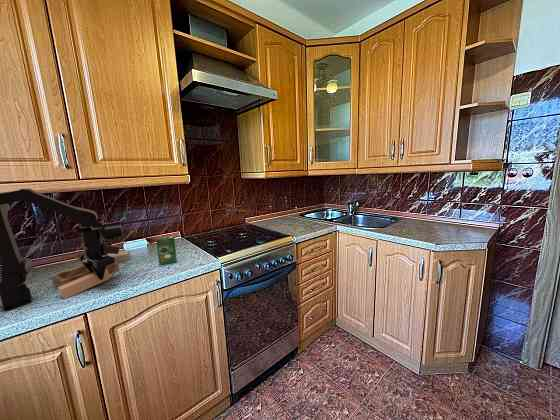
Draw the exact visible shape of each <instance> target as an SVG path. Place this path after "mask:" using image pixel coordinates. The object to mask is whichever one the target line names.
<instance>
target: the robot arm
mask: <svg viewBox="0 0 560 420" xmlns="http://www.w3.org/2000/svg"><path fill="white" fill-rule="evenodd" d="M22 201H23V202H24V201H25V202H28V203H31V204H34V205H37V206H38V207H41V208H44V209H47V210H50V211H52V212H55V213H56V214H57V213H58V214H61V215H63V216H65V217H67V218H68V219H69V220H71V221H73V222H75V223H77V225H78V226H77V228H76V229H75V230H74V231H73V234H80V236H81V240H82V244H83V245H81V249H83V250H84V252H82V253H81V252H80V253H78V255H77V256H76V259H77V262H80V263H81V262H82V263H81V264H82V266H85V267H86V268H87V269H88V270H89V271H90V272H91V273H93V272H94V273H95V274H96V275H97V277H98V278H99V279H100V280H102V279H103V278H104V273H105V268H106V266H108V265H111V264H114V263H115V258H114V257H111V256H108V254H118V253H119V252H120V248H121V247H120V246H119V245H113V244H112V242H109V241H108V242H102V238H103V239H106V240H112V239H113V240H114V239H119V238H124V234H123V227H122V224H121V221H120V220H117V221H113V222H112V221H111V222H105V221H103V220H102V219H100V218H99V215H98V213H97V212H95V211H94V210H92V209H88V208H83V207H79V206H74V205H70V204H69V203H65V202H63V201H61V200H58V199H55V198H53V197H50V196H48V195H45V194H43V193H40V192H38V191H35V190H34V189H33V188H28V187H27V188H21V189H20V188H19V190H13V191H8V192H7V191H6V192H0V259H1V268H0V278H1V282H0V308H1V309H2V310H3V311H4V312H8V311H10V310H13V309H15V308H18V307H20V306H24V305H27V304H29V303H32V302H33V300H32V293H31V289H30V287H28V286H27V284H26V281H27V279H28V278H30V276H31V275H32V273H33V270H34V269H35V267H34V266H33V264H32V260H31V258H30V257H29V258H26V259H25V258H24V257H23V256H22V255H21V253H20V249H19V247H18V244H17V242H16V238H15V235H14V233H13V230H12V228H11V224H10V221H9V219H8V215H9V214H8V213H9V204H12V203H17V202H22ZM100 231H101V232H100ZM107 253H108V254H107ZM106 255H107V256H106ZM103 256H104V257H103ZM83 261H84V262H83Z"/></svg>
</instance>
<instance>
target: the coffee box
mask: <svg viewBox="0 0 560 420" xmlns="http://www.w3.org/2000/svg"><path fill="white" fill-rule="evenodd" d="M155 240H156V249H157V256H158V265H159V266H160V265H161V266H162V265H167V264H175V263H177V261H178V260H177V259H178V258H177V249H176V240H175V236H174V235H173V236H166V237H164V236H163V237H156V239H155Z"/></svg>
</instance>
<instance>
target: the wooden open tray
mask: <svg viewBox="0 0 560 420" xmlns="http://www.w3.org/2000/svg"><path fill="white" fill-rule="evenodd" d="M105 269H107V270H108V272H109V275H112V274H114V273H116V272H119V271H120V265H119V263H118V262H115V263H114V264H111V265H108V266H106V268H105ZM89 274H91V272H90V271H89V270H88V269H87V268H86V267H85V266H84V265H81V266H77V267H74V268H71V269H67V270H65V271H62V272H57V273H53V274H51V275H50V278H51V281H52V285H54V286H55V287H57V288H58V287H60V286H62V285H64V284H67V283H69V282H72V281H74V280H76V279H79V278H81V277H84V276H86V275H89Z"/></svg>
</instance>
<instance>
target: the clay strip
mask: <svg viewBox="0 0 560 420" xmlns="http://www.w3.org/2000/svg"><path fill="white" fill-rule="evenodd" d="M110 279H111V274H109V272H108V270H107V269H105V273H104V278H103V279H102V280H100V279H99V278H98V277H97V275H96V274H95V273H94V272H93V273H91V274H89V275H86V276H84V277H81V278H79V279H76V280H74V281H72V282H69V283H67V284H64V285H62V286H60V287H57V289H58V293H59V295H60V297H61V298H62V299H64V300H66V299H69V298H70V297H73V296H75V295H77V294H79V293H82V292H84V291H86V290H88V289H90V288H93V287H94V286H97V285H99V284H102V283H103V282H105V281H108V280H110Z"/></svg>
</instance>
